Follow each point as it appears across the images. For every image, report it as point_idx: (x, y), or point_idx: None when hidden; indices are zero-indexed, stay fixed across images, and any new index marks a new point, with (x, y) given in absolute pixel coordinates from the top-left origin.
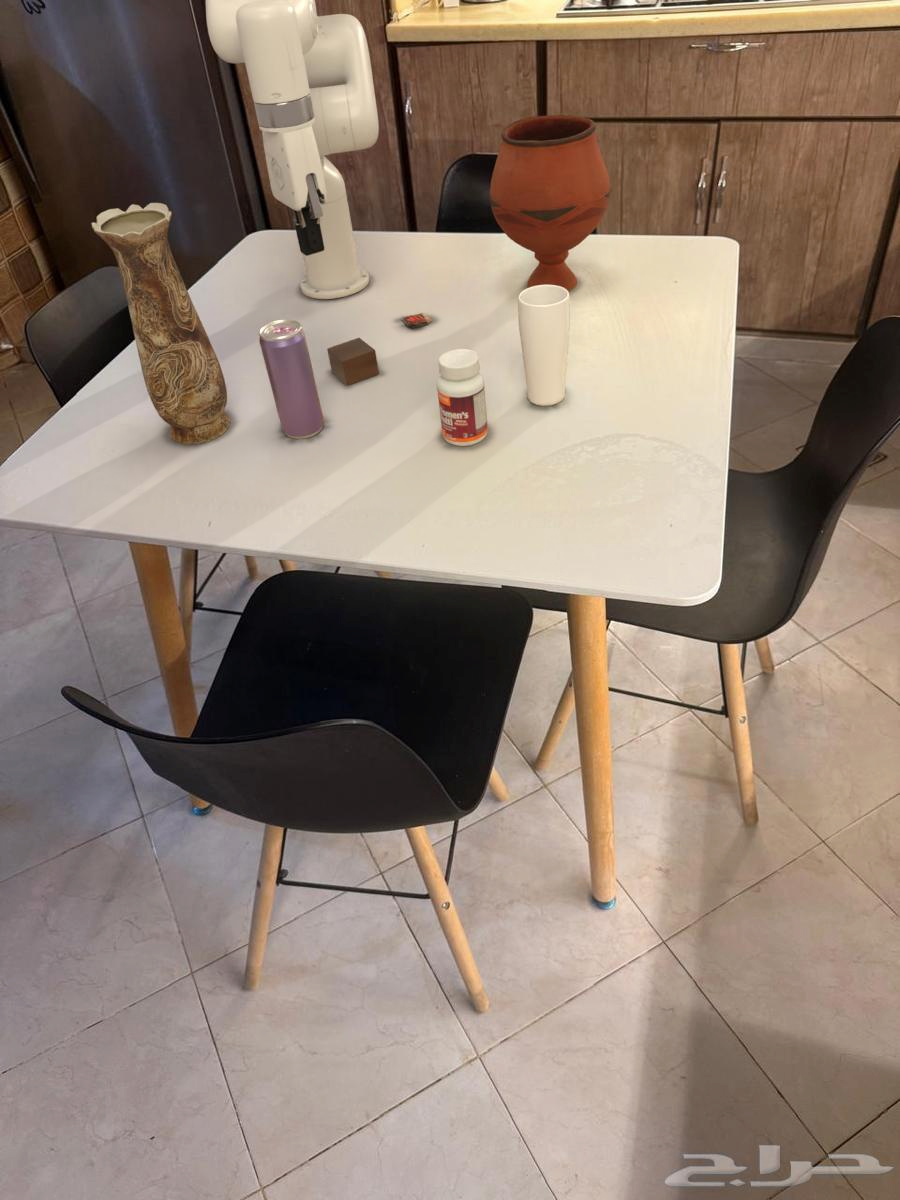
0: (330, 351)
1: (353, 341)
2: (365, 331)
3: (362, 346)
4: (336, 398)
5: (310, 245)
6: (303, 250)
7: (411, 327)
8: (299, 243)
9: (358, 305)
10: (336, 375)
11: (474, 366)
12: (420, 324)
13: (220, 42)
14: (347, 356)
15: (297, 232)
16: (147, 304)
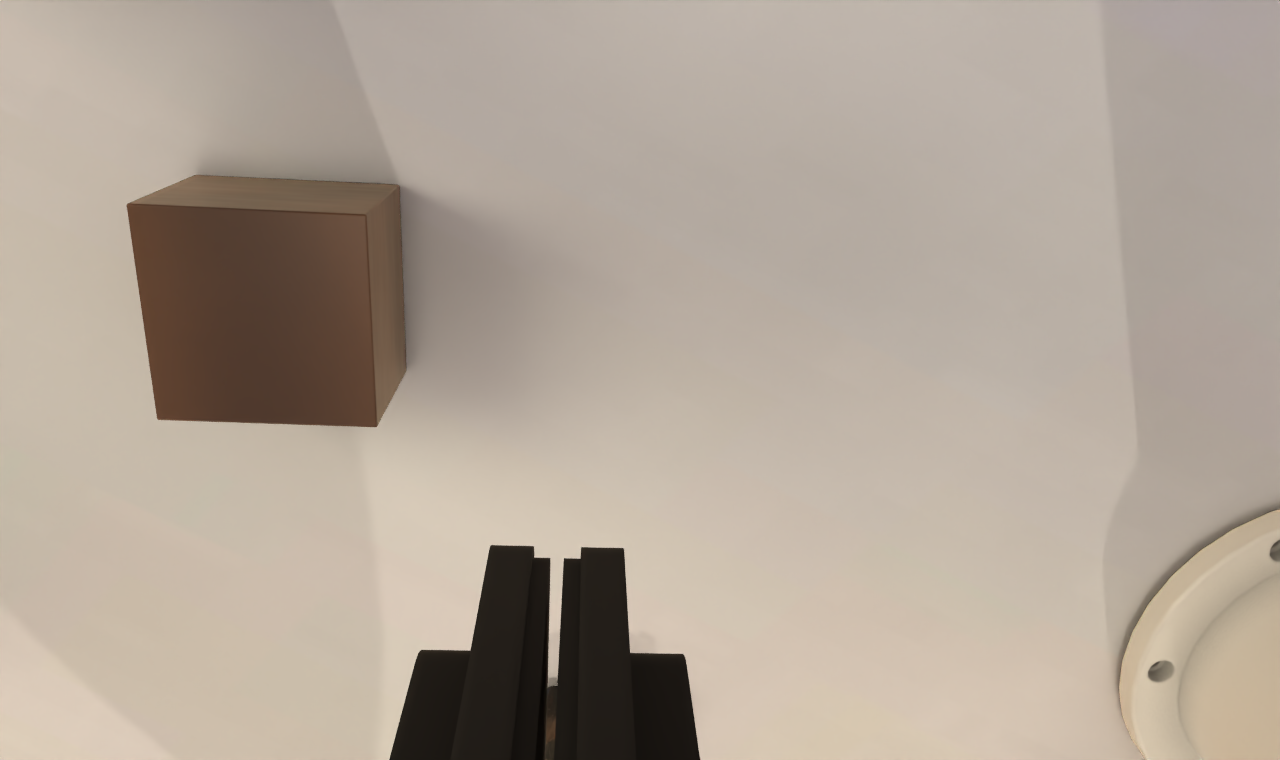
0: (313, 212)
1: (348, 379)
2: (708, 528)
3: (246, 387)
4: (91, 58)
5: (414, 677)
6: (495, 570)
7: (552, 690)
8: (597, 611)
9: (995, 630)
10: (329, 182)
11: None
12: (552, 730)
13: None
14: (175, 260)
15: (578, 716)
16: None
